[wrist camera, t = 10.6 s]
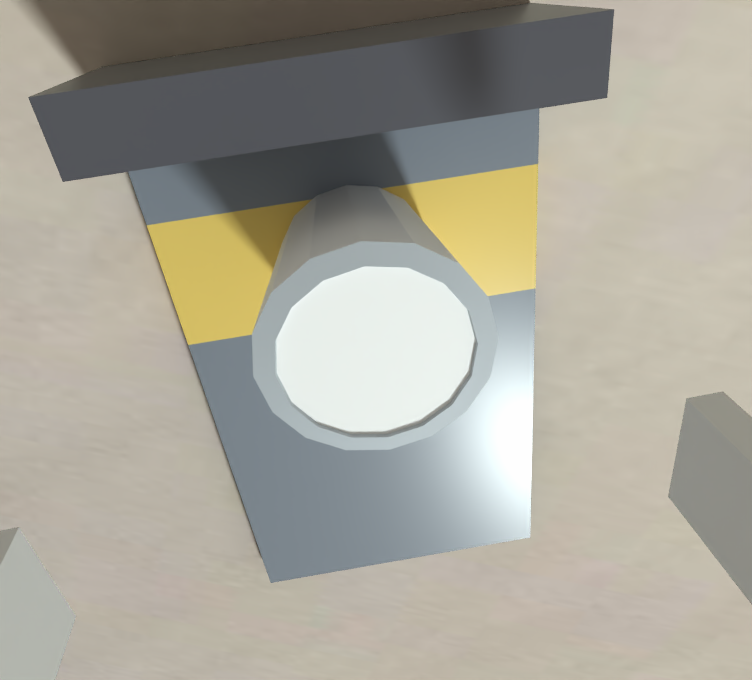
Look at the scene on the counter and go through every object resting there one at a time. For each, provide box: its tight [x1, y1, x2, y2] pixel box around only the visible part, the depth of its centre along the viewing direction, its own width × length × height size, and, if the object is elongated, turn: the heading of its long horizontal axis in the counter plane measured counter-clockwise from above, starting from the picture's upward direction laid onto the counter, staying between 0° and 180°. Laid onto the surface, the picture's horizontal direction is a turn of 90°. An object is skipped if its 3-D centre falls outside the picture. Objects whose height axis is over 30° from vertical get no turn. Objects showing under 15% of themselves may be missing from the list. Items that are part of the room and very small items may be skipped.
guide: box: [28, 3, 614, 583], centre depth 23 cm, size 14×25×6 cm, turn 7°
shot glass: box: [252, 185, 499, 450], centre depth 19 cm, size 7×7×7 cm
